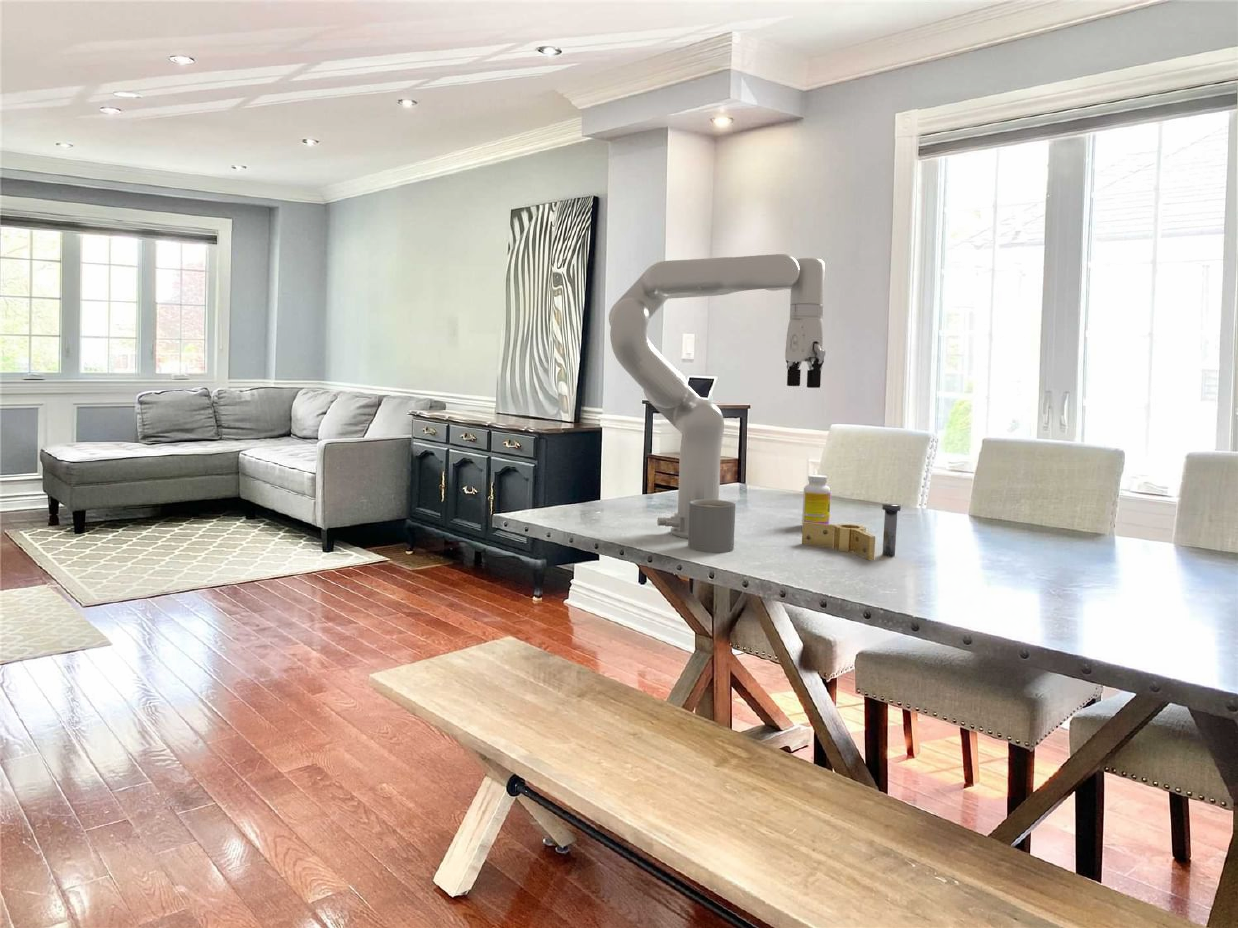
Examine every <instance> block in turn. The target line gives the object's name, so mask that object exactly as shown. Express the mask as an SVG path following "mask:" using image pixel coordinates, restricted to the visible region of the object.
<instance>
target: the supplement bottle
mask: <svg viewBox="0 0 1238 928" xmlns="http://www.w3.org/2000/svg"><path fill="white" fill-rule="evenodd" d="M807 479H808V484H806V485H805V486H804V487H803V495H802V496H803V500H802V502H803V503H802V516H801V517H802V518H801V519H802V520H801V524H802V525H803V522H813V523H823V524H830V511H831V493H832V492H831V488H830V486H828V485H827V482H828V476H827V475H824V474H809V475H808V477H807Z"/></svg>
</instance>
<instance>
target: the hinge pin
mask: <svg viewBox="0 0 1238 928" xmlns="http://www.w3.org/2000/svg"><path fill="white" fill-rule="evenodd" d="M881 506H882V507H881V510H883V511H884V519H883V520H884V521H883V536H882V537H883V539H882V540H883V541H882V552H881V553H882V556H883V557H891V558H892V557H895V556H896V543H897V528H898V527H897V525H898V513H899V512H901V508H902V505H901V504H899V503H898V504H897V503H882V505H881Z"/></svg>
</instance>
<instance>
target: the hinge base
mask: <svg viewBox="0 0 1238 928" xmlns="http://www.w3.org/2000/svg"><path fill="white" fill-rule="evenodd" d="M834 525H835V527H834V546H833V549H835V550H836V549H837V551H840V552H841V551H842V552H848V553H854V554H856V555H858V556H860V557H861V558H864V559H866V560H868V561H874V560H875V550H876V549H875V548H876V547H875V546H876V536H875V535H874V534H872V533H871V534H870V533H869V532H866V531H867V527H866V526H864V525H860V524H854V523H853V524H852V523H838V524H834Z"/></svg>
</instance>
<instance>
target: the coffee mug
mask: <svg viewBox="0 0 1238 928" xmlns="http://www.w3.org/2000/svg"><path fill="white" fill-rule="evenodd" d="M735 523H736V503H734V502H733V501H729V500H723V499H722V500H721V499H719V500H694V501H691V502H690V507H689V536H688V538H687V539H688V540H687V541H688V542H687V548H688V549H689V550H692V551H694V552H700V553H708V554H709V553H710V554H720V553H721V554H723V553H724V554H725V553H730V552H733V551H734V549H735V548H734V547H735V527H736V525H735Z"/></svg>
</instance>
